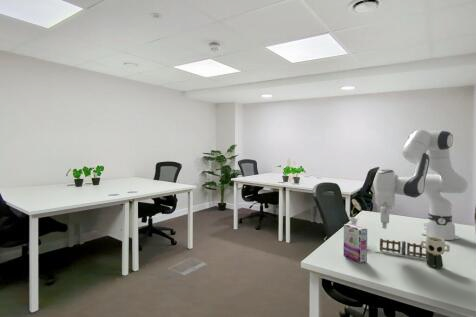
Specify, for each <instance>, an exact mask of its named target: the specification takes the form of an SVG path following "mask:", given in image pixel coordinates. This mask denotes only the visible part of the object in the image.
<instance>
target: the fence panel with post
mask: <svg viewBox="0 0 476 317" xmlns="http://www.w3.org/2000/svg"><path fill="white" fill-rule="evenodd" d="M401 247H402V254H403V255H405V253H406V247H407V255H409V254H413V256H416V255H419V257H422V256H426V258H427V256H428V253H429V252H427V251H426V254H424V253H422V250H423V248H422V247H421V243H420V244H417V243H415V242H413V243H410V242H408V241H407V243H406V241H404V240H402V241H401ZM410 248H413V252H411V251H410ZM417 248H418V249H419V253H418V252H416V249H417Z"/></svg>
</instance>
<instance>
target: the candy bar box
mask: <svg viewBox="0 0 476 317" xmlns="http://www.w3.org/2000/svg"><path fill="white" fill-rule="evenodd" d="M343 237H344V238H343V256H344V257H346V258H349V259H350V260H352V261H354V262H357V263H358V264H362V263H367V261H368V228H366V227H362V226H360V225H357V224H356V225H354V224H352V223H345V224H343Z"/></svg>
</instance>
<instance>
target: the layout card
mask: <svg viewBox="0 0 476 317" xmlns="http://www.w3.org/2000/svg"><path fill="white" fill-rule="evenodd" d="M383 247H384V248H387V243H386V244H385V243H383ZM389 248H391V249H392V244H389ZM395 249H398V245H395ZM410 251H411V252H413V247H410ZM416 252H418V253H419V248H416ZM375 253H380V254H386V255H391V256H392V255H393V256H398V257H405V258H410V259H417V260H424V261H427V258H426V256H422V257H419V255H416V256H413V254H409V255H407V246H406V253H405V255H403V254H402V246H401V247H400V253H398V252H395V251H394V252H392V251H389V252H388V251H386V250H383V251H381V250H380V242H376V243H375ZM422 253H424V254H426V249H422Z"/></svg>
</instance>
